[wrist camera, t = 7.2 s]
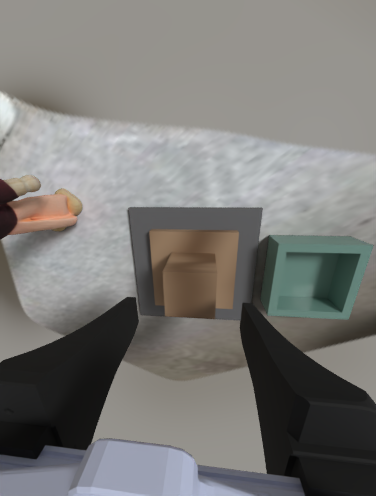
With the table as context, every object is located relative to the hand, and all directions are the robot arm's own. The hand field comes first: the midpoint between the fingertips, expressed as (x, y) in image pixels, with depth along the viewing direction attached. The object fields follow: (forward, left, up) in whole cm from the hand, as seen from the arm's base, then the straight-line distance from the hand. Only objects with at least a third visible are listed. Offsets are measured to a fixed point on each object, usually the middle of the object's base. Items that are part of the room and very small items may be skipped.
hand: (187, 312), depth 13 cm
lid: (0, 0, -7) cm, 7 cm away
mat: (0, 0, -7) cm, 7 cm away
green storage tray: (-10, 0, -7) cm, 13 cm away
